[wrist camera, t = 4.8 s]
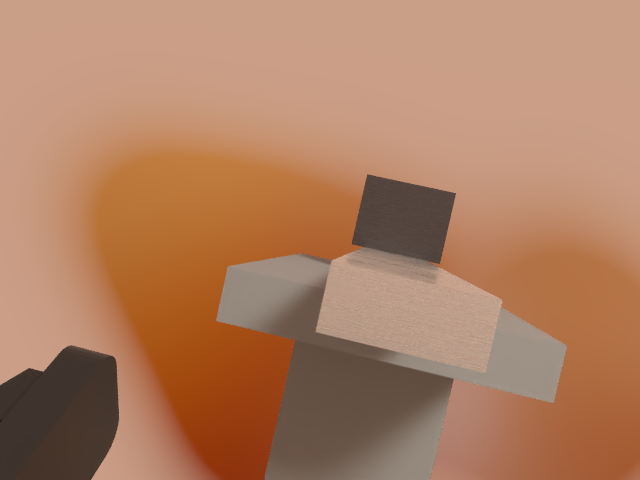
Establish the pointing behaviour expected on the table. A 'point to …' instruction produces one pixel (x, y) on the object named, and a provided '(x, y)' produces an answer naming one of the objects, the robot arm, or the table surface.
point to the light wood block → (407, 282)
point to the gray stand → (366, 380)
